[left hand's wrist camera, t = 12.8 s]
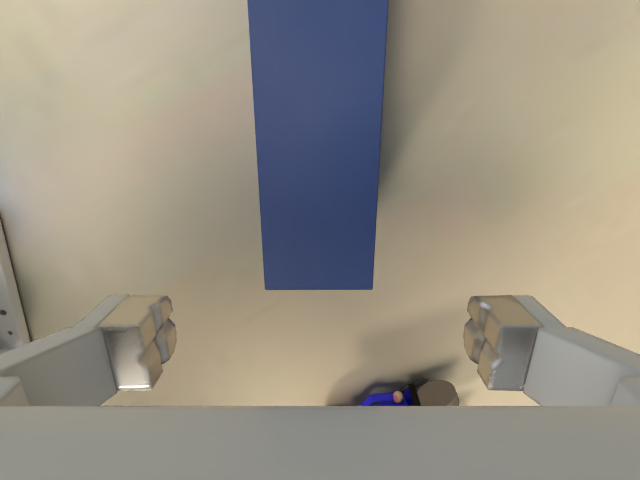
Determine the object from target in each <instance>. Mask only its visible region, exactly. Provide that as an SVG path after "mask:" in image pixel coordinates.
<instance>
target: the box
mask: <svg viewBox="0 0 640 480" xmlns="http://www.w3.org/2000/svg"><path fill="white" fill-rule="evenodd" d="M248 16H249V32H250V49H251V65H252V82H253V98H254V115H255V131H256V148H257V164H258V181H259V197H260V214H261V230H262V247H263V263H264V280H265V290H372V288H373V270H374V251H375V233H376V215H377V197H378V179H379V161H380V143H381V125H382V106H383V88H384V70H385V52H386V34H387V16H388V0H248Z"/></svg>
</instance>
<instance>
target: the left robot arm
mask: <svg viewBox="0 0 640 480" xmlns="http://www.w3.org/2000/svg"><path fill="white" fill-rule="evenodd" d="M172 311H173V308H172V303H171V300H170V298H169V297H168V296H144V295H131V296H130V295H112V296H108V297H107V298H105V299H104V300H103V301H102V302H101V303H100V304H99V305H98V306H97V307H95V308H94V309H93V310H92V311H91V312H90V313H89V314H88V315H87V316H86V317H84V318H83V319H82V320H81V321H80V322H79V323H78V324H77V325H76V326H74V327H67V328H65V329H62V330H60V331H57V332H55V333H52V334H50V335H47V336H45V337H42V338H40V339H37V340H35V341H32V342H30V338H29V334H28V329H27V325H26V321H25V317H24V313H23V309H22V305H21V301H20V297H19V293H18V289H17V285H16V281H15V277H14V273H13V269H12V265H11V261H10V257H9V253H8V249H7V245H6V241H5V237H4V233H3V229H2V225H1V221H0V480H640V354H637V353H635V352H632V351H630V350H627V349H625V348H622V347H620V346H617V345H615V344H612V343H610V342H608V341H605V340H603V339H600V338H598V337H595V336H593V335H590V334H588V333H585V332H583V331H580V330H578V329H575V328H573V327H566V326H564V325H563V324H562V323H561V322H560V321H559V320H558V319H557V318H556V317H555V316H553V315H552V314H551V313H550V312H549V311H548V310H547V309H546V308H545V307H544V306H542V305H541V304H540V303H539V302H538V301H537V300H536V299H535V298H534V297H532V296H530V295H499V296H473V297H471V298H470V300H469V302H468V308H467V311H468V313H469V314H470V316H471V317H472V318H471V319H470V320H469V321H468V322H467V323H466V324H465V327H464V335H463V337H464V346H465V349H466V352H467V354H468V356H469V358H470V360H472V361H473V362H475V363H477V364H478V370H477V372H478V374H479V375H480V377H481V379H482V380H483V382H484V384H485V385H486V387H487V389H488V390H505V391H523V393H524V394H526V395H527V396H528V397H530V398H531V399H532V400H534V401H535V402H536V403H538V404H539V405H540V406H100V405H101V404H102V403H104V402H105V401H106V400H108V399H109V398H110V397H112V396H113V395H114V394H116V393H117V391H134V390H152V389H153V387H154V385H155V384H156V382H157V380H158V379H159V377H160V375H161V374H162V372H163V370H162V364H163V363H165V362H167V361H168V360H170V358H171V356H172V354H173V353H174V349H175V345H176V327H175V324H174V323H173V322H172V321H171V320H170V319H169V318H168V317H169V316H170V314H171V313H172Z"/></svg>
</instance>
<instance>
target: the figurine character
mask: <svg viewBox="0 0 640 480" xmlns="http://www.w3.org/2000/svg"><path fill="white" fill-rule="evenodd" d="M428 380H429V379H420V380H418V381H416V382H414V383H411V384H408V385H407V386H405V387H402V389H401V390H400V391H395V392H394V393H384V394H371V395H370V396H369V397H368V398H366V399H365V400H364V401H363V402H362V403H361V404H360V405H359V406H370V405H371V404H373V403H374V402H381V403H379V404H377V405H374V406H459V398H458V395H457V393H456V390H455V388H454V386H453V385H452V384H451V383H449V382H447V381H444V380H434V381H430V382H428V383H426V382H427V381H428ZM425 383H426V384H425ZM421 385H423V386H421ZM419 386H421V387H420V388H419V390H418V391H417V390H416V388H417V387H419ZM403 393H405V397H404V395H403Z"/></svg>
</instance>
